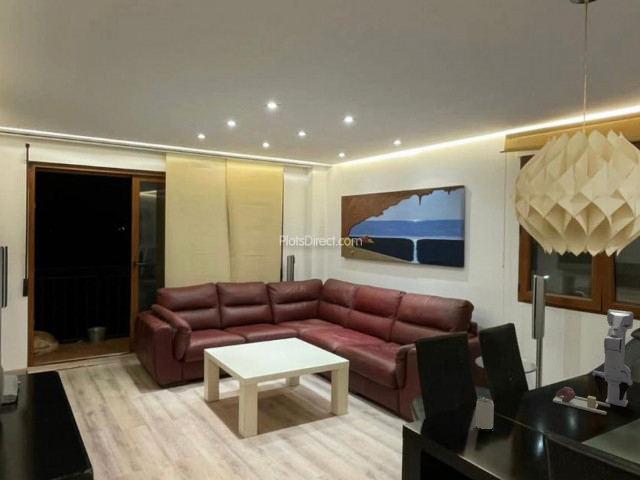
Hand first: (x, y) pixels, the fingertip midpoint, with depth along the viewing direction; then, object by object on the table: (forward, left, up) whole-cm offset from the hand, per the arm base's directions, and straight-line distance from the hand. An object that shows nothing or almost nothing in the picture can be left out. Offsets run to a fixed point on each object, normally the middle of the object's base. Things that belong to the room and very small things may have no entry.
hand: (611, 396), depth 187 cm
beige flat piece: (-10, -15, -10) cm, 21 cm away
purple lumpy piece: (-10, -19, -10) cm, 24 cm away
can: (+49, -36, -10) cm, 62 cm away
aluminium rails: (-10, -12, -10) cm, 19 cm away
